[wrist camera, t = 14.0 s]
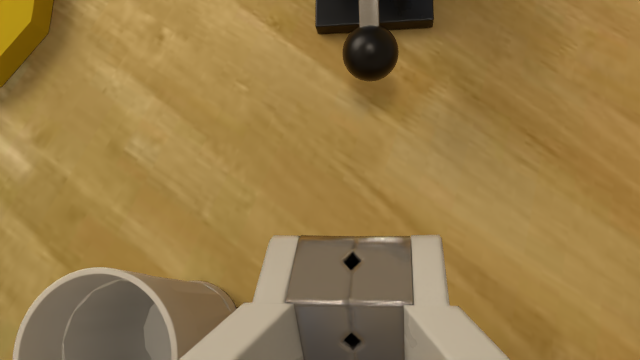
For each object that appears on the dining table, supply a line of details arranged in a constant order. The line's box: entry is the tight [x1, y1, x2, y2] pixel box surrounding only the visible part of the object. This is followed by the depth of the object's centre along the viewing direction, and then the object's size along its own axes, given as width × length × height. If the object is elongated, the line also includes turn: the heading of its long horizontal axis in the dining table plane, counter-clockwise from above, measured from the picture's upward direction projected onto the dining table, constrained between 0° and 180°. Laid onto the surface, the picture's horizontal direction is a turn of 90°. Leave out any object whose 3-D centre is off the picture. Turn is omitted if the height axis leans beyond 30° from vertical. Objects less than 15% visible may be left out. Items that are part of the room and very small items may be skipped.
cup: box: [13, 267, 236, 360], centre depth 30 cm, size 8×8×12 cm
